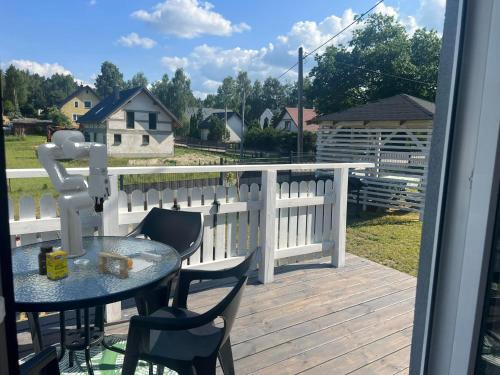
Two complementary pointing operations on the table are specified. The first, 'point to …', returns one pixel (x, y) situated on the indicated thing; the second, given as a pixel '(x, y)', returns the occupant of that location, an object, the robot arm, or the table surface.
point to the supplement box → (56, 265)
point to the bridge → (122, 259)
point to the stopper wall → (151, 256)
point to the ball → (130, 263)
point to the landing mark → (138, 265)
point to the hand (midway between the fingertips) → (99, 211)
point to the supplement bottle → (43, 258)
